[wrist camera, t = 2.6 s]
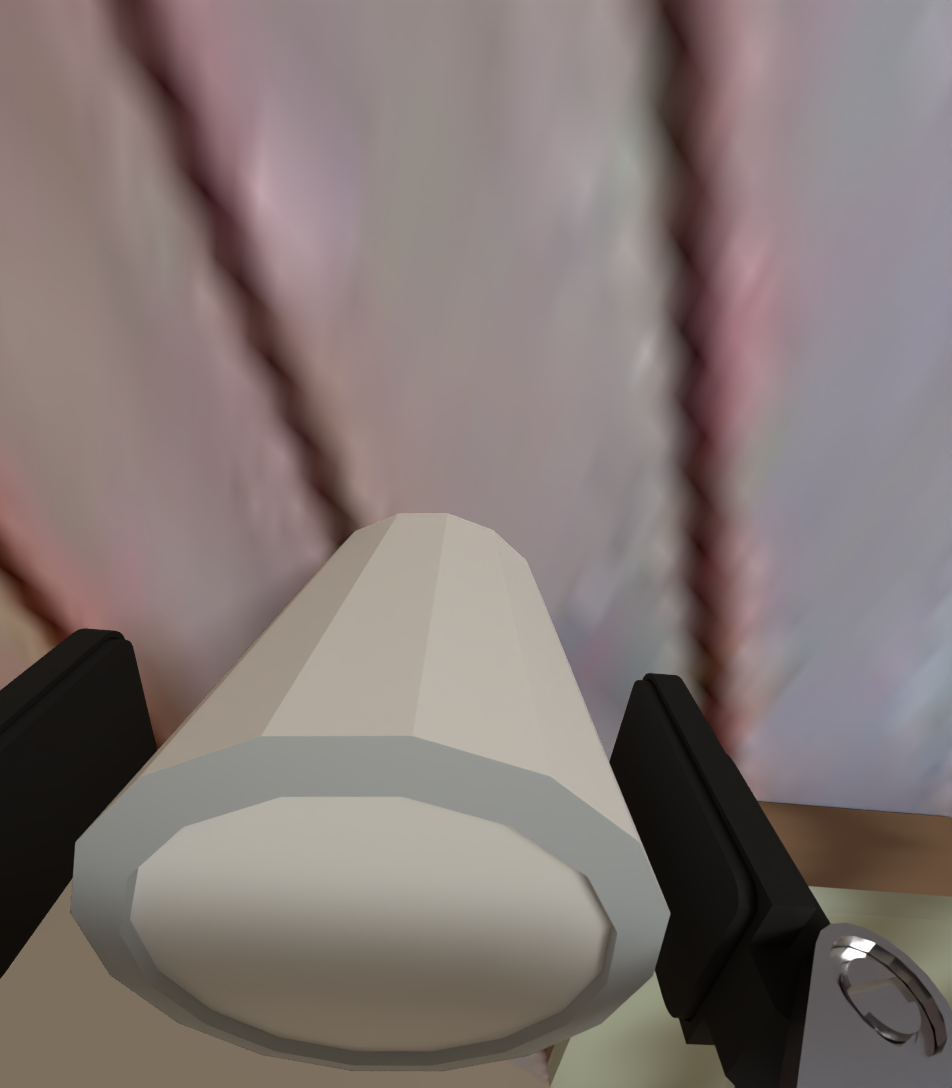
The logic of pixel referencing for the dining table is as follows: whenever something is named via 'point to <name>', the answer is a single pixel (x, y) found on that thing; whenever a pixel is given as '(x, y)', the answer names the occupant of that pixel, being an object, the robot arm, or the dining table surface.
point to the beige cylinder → (382, 827)
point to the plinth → (845, 897)
